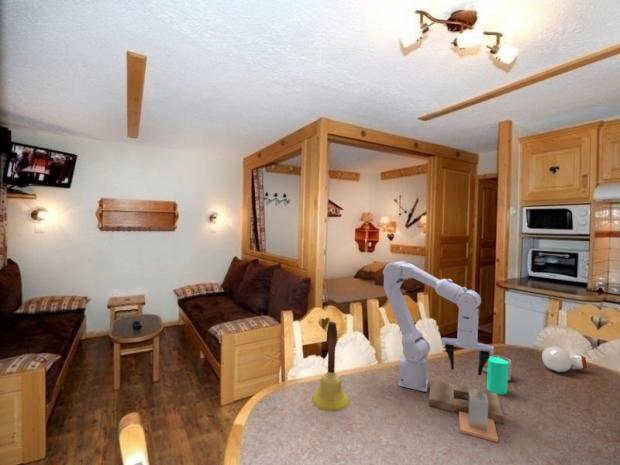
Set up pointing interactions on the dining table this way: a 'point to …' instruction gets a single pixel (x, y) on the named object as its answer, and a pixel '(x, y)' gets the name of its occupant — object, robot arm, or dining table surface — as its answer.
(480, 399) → the steel plug
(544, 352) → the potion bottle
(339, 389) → the handbell
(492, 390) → the candle
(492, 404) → the wooden board with hole
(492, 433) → the terracotta tile
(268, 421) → the dining table surface
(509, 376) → the mug
